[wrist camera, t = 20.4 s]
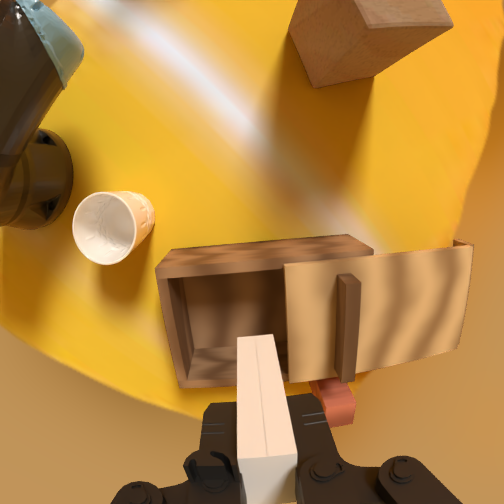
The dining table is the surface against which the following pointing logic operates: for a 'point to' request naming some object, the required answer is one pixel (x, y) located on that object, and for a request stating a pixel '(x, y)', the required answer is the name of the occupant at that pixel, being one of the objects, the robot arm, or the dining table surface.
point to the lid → (374, 310)
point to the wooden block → (361, 35)
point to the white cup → (112, 225)
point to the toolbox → (233, 300)
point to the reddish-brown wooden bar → (335, 400)
